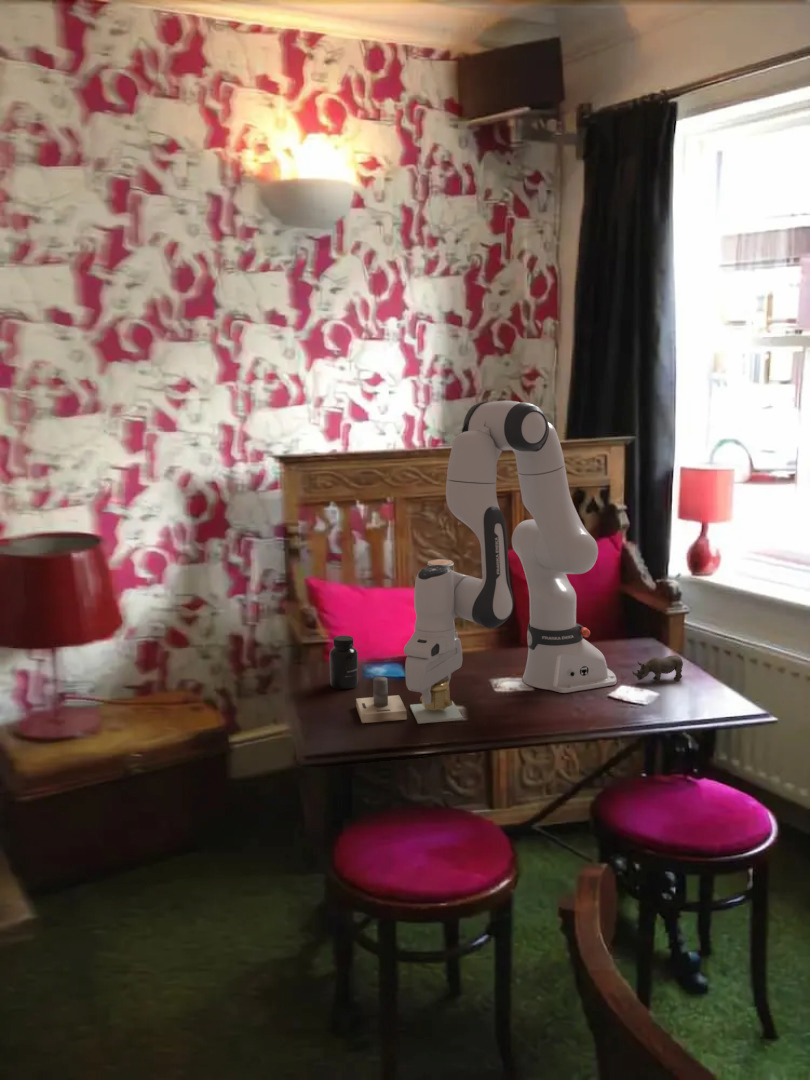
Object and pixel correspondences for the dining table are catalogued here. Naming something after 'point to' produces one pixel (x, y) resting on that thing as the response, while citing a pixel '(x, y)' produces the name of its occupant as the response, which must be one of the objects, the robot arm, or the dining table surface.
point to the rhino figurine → (660, 667)
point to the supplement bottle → (343, 663)
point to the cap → (439, 696)
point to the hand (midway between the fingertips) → (435, 698)
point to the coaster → (435, 714)
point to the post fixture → (381, 704)
